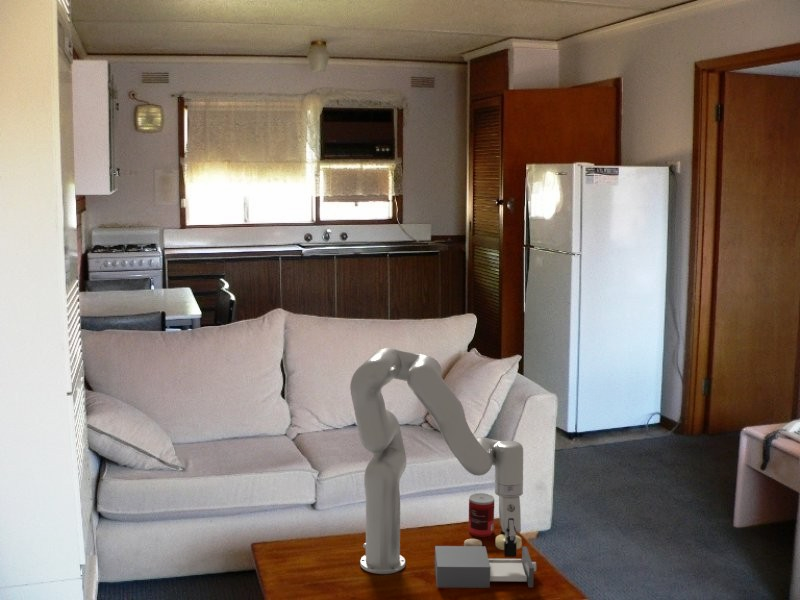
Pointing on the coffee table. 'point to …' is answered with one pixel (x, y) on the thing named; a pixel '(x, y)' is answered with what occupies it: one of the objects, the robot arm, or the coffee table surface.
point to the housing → (462, 566)
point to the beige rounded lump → (472, 542)
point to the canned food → (481, 515)
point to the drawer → (513, 569)
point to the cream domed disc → (501, 539)
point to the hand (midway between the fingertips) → (508, 549)
